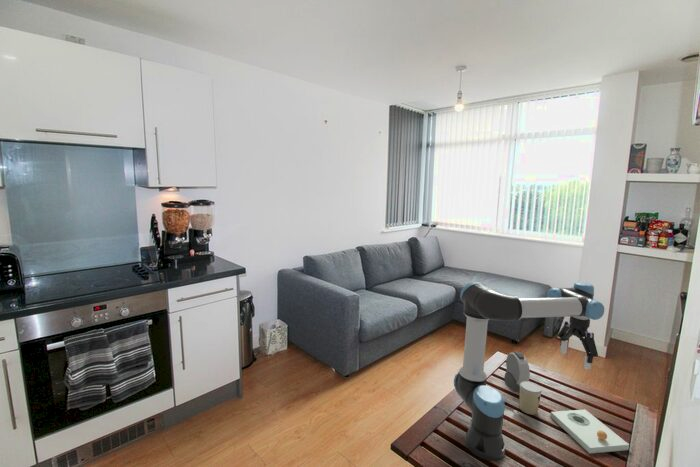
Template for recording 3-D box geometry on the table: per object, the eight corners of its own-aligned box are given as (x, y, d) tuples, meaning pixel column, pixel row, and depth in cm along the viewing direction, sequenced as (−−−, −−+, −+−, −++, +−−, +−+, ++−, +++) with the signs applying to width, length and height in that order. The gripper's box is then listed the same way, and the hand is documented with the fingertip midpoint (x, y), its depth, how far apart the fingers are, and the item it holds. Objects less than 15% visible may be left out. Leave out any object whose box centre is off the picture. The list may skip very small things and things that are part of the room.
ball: (601, 442, 138) (602, 434, 138) (594, 436, 142) (595, 428, 141) (608, 441, 139) (609, 434, 138) (601, 435, 142) (602, 428, 142)
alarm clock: (533, 393, 174) (536, 361, 172) (513, 393, 174) (516, 360, 172) (517, 376, 190) (521, 346, 188) (500, 375, 190) (502, 345, 188)
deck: (628, 450, 138) (629, 444, 137) (589, 453, 135) (590, 447, 135) (584, 414, 159) (585, 409, 159) (550, 416, 157) (550, 411, 156)
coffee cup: (542, 417, 156) (545, 393, 155) (520, 414, 158) (523, 390, 156) (535, 404, 165) (538, 382, 164) (515, 401, 167) (517, 379, 166)
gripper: (612, 328, 139) (605, 375, 142) (566, 306, 163) (561, 347, 166) (596, 328, 138) (590, 376, 141) (552, 307, 162) (547, 348, 165)
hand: (574, 361), depth 153 cm, fingers open, 13 cm apart
